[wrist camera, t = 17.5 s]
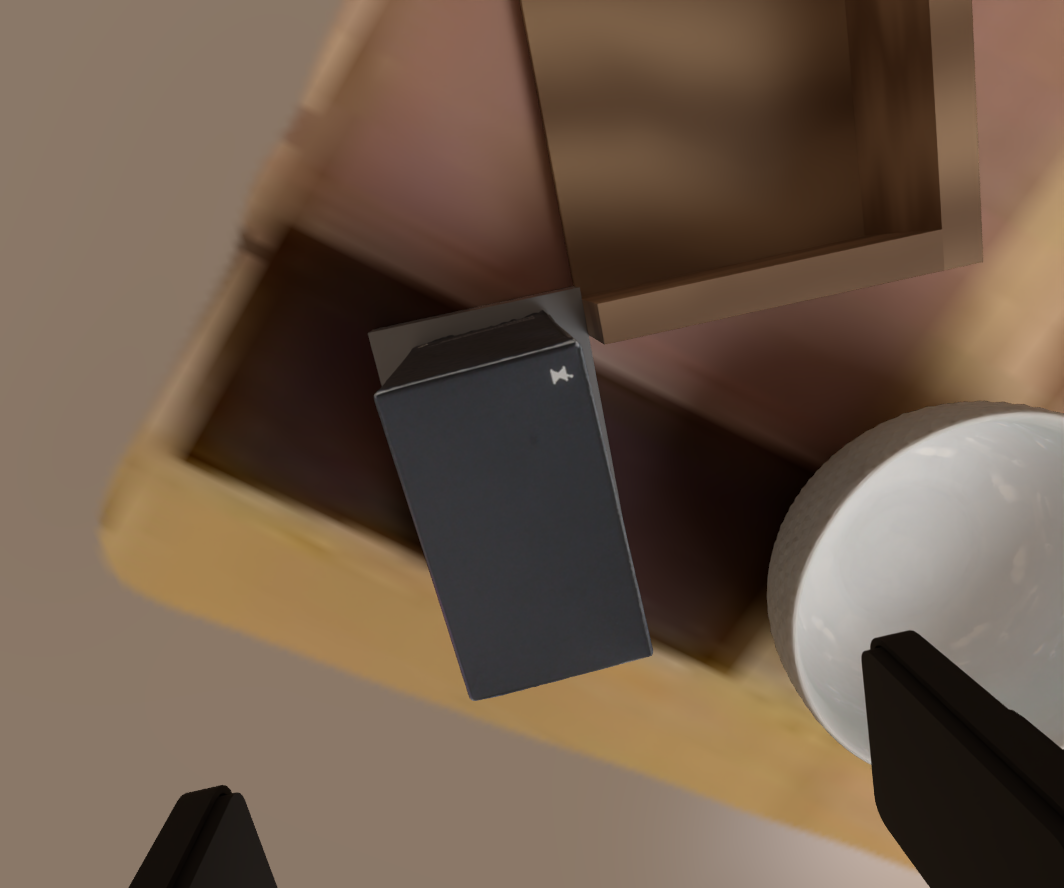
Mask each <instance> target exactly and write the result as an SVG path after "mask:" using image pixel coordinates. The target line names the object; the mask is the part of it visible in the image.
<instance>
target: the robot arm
mask: <svg viewBox="0 0 1064 888" xmlns="http://www.w3.org/2000/svg"><path fill="white" fill-rule="evenodd" d="M861 662H862V672H863V683H864V693H865V703H866V714H867V724H868V734H869V745H870V755H871V765H872V775H873V786H874V796H875V802H876V806H877V809H878V812H879V814H880V817H881V819H882V821H883V822H884V824H885V826H886V827H887V829H888V830H889V832H890V833H891V834H892V836H893V837H894V838H895V840H896V841H897V843H898V844H899V845H900V847H901V848H902V850H903V851H904V852H905V854H906V855H907V856H908V858H909V859H910V861H911V862H912V863H913V865H914V866H915V867H916V869H917V870H918V872H919V873H920V874H921V876H922V877H923V879H924V880H925V881H926V883H927V884H928V885H929V887H930V888H1064V750H1063V749H1062V748H1060V747H1059V746H1058V745H1057V744H1056V743H1054V742H1053V741H1052V740H1051V739H1050V738H1048V737H1047V736H1046V735H1045V734H1044V733H1042V732H1041V731H1040V730H1039V729H1038V728H1036V727H1035V726H1034V725H1033V724H1032V723H1030V722H1029V721H1028V720H1027V719H1025V718H1024V717H1023V716H1021V715H1020V714H1018V713H1017V712H1015V711H1014V710H1010V709H1008V708H1007V707H1005V706H1004V705H1003V704H1002V703H1001V702H1000V701H998V700H997V699H996V698H995V697H994V696H992V695H991V694H990V693H989V692H988V691H986V690H985V689H984V688H983V687H982V686H980V685H979V684H978V683H977V682H976V681H974V680H973V679H972V678H971V677H970V676H969V675H967V674H966V673H965V672H964V671H963V670H961V669H960V668H959V667H958V666H957V665H955V664H954V663H953V662H952V661H951V660H949V659H948V658H947V657H946V656H945V655H943V654H942V653H941V652H940V651H939V650H937V649H936V648H935V647H934V646H933V645H932V644H930V643H929V642H928V641H927V640H926V639H924V638H923V637H922V636H921V635H920V634H918V633H917V632H915V631H913V630H908V631H903V632H899V633H894V634H890V635H885V636H881V637H877V638H874V639H873V640H872V641H871V644H870V650H866V651H864V652H862V656H861ZM129 888H277V885H276V883H275V880H274V877H273V874H272V872H271V869H270V867H269V864H268V861H267V859H266V856H265V853H264V851H263V848H262V845H261V842H260V840H259V837H258V834H257V831H256V829H255V826H254V823H253V821H252V818H251V815H250V813H249V810H248V807H247V804H246V802H245V799H244V798H243V796H242V795H241V794H240V793H232V792H231V790H230V789H229V788H228V787H227V786H224V785H220V786H216V787H211V788H208V789H202V790H198V791H194V792H189V793H186V794H184V795H182V796H181V797H180V798H179V800H178V801H177V803H176V805H175V807H174V808H173V810H172V812H171V813H170V815H169V817H168V819H167V821H166V822H165V824H164V826H163V828H162V829H161V831H160V833H159V835H158V837H157V838H156V840H155V842H154V844H153V845H152V847H151V849H150V851H149V852H148V854H147V856H146V858H145V859H144V861H143V863H142V865H141V867H140V868H139V870H138V872H137V874H136V875H135V877H134V879H133V881H132V883H131V884H130V886H129Z"/></svg>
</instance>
